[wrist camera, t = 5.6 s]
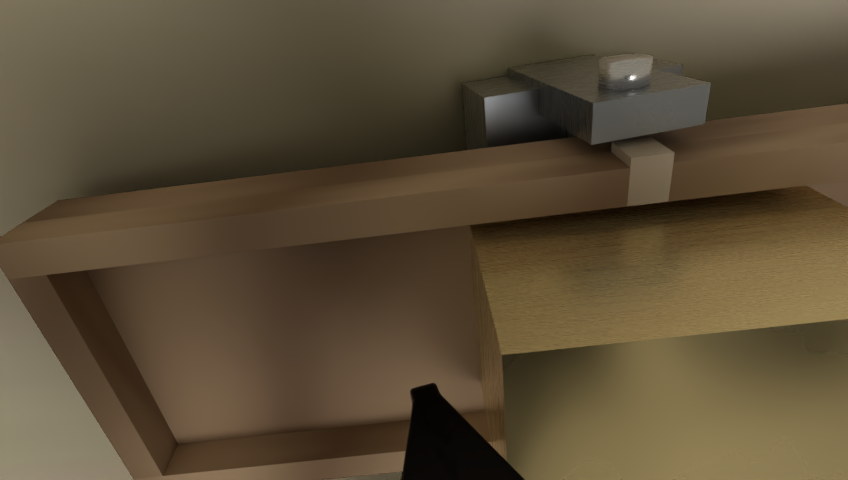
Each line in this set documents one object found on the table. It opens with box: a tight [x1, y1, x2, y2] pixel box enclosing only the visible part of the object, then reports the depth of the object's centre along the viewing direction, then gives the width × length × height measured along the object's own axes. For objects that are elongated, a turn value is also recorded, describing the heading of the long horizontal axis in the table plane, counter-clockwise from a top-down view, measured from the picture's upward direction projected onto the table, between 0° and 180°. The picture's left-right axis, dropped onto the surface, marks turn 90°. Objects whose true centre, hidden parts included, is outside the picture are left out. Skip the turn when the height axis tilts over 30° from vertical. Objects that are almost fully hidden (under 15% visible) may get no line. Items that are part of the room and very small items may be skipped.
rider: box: [468, 185, 848, 480], centre depth 10 cm, size 7×5×4 cm
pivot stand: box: [462, 54, 711, 150], centre depth 14 cm, size 25×11×5 cm, turn 97°
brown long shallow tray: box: [0, 103, 848, 480], centre depth 12 cm, size 26×8×2 cm, turn 97°
